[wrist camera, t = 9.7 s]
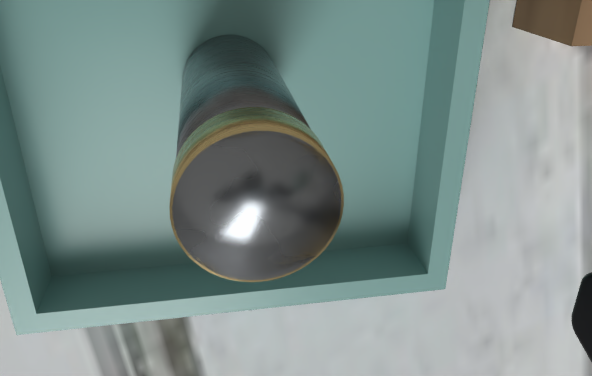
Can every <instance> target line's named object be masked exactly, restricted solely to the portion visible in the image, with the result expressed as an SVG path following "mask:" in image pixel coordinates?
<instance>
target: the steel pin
mask: <svg viewBox="0 0 592 376" xmlns="http://www.w3.org/2000/svg"><path fill="white" fill-rule="evenodd" d="M343 207H344V193H343V187H342V183H341V180H340V177H339V174H338V172H337V170H336V168H335V166H334V164H333V163H332V161H331V159H330V157H329V156H328V154H327V152H326V150H325V148H324V147H323V145H322V143H321V142H320V140H319V139H318V137H317V136H316V134H315V133H314V132H313V131H312V130H311V129H310V127H309V125H308V123H307V121H306V120H305V118H304V116H303V114H302V112H301V111H300V109H299V107H298V105H297V103H296V102H295V100H294V98H293V96H292V94H291V93H290V91H289V89H288V87H287V85H286V84H285V82H284V80H283V78H282V76H281V75H280V73H279V71H278V69H277V67H276V66H275V64H274V62H273V60H272V58H271V57H270V55H269V54H268V53H267V51H266V50H265V49H264V48H263V47H262V46H260V45H259V44H258V43H256V42H255V41H253V40H251V39H249V38H247V37H243V36H239V35H230V34H227V35H220V36H215V37H213V38H210V39H208V40H206V41H204V42H203V43H201V44H200V45H199V46H198V47H197V48H196V49H195V50H194V51H193V52H192V53H191V54H190V56H189V58H188V59H187V61H186V64H185V66H184V70H183V76H182V87H181V100H180V113H179V126H178V139H177V152H176V160H175V164H174V167H173V173H172V183H171V194H170V206H169V210H170V221H171V226H172V229H173V232H174V235H175V238H176V239H177V241H178V243H179V245H180V247H181V248H182V249H183V251H184V252H185V253H186V254H187V256H188V257H189V258H190V259H191V260H192V261H193V262H195V263H196V264H197V265H199V266H200V267H201V268H203V269H205V270H206V271H208V272H210V273H212V274H214V275H217V276H219V277H222V278H225V279H229V280H234V281H240V282H263V281H270V280H274V279H278V278H282V277H285V276H287V275H290V274H292V273H294V272H296V271H298V270H300V269H302V268H304V267H305V266H307V265H308V264H310V263H311V262H312V261H313V260H315V259H316V258H317V257H318V256H319V255H320V254H321V253H322V252H323V251H324V250H325V249H326V248H327V246H328V245H329V244H330V242H331V241H332V239H333V237H334V236H335V234H336V232H337V230H338V227H339V225H340V222H341V218H342V214H343Z"/></svg>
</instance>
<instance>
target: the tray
mask: <svg viewBox="0 0 592 376" xmlns="http://www.w3.org/2000/svg"><path fill="white" fill-rule="evenodd" d="M489 1H490V0H0V280H1V284H2V287H3V290H4V294H5V297H6V301H7V304H8V307H9V311H10V314H11V318H12V321H13V324H14V328H15V331H16V335H21V334H30V333H40V332H49V331H58V330H68V329H77V328H86V327H96V326H105V325H114V324H124V323H133V322H142V321H152V320H161V319H170V318H180V317H189V316H198V315H208V314H217V313H226V312H236V311H245V310H254V309H264V308H273V307H282V306H292V305H301V304H310V303H320V302H329V301H338V300H347V299H357V298H366V297H375V296H385V295H394V294H403V293H413V292H422V291H431V290H441V289H445V287H446V281H447V274H448V268H449V261H450V255H451V248H452V242H453V235H454V229H455V222H456V216H457V209H458V203H459V196H460V190H461V183H462V177H463V170H464V164H465V157H466V151H467V144H468V138H469V131H470V125H471V118H472V112H473V105H474V99H475V92H476V86H477V79H478V73H479V66H480V60H481V53H482V47H483V40H484V34H485V27H486V21H487V14H488V8H489ZM227 34H230V35H239V36H243V37H247V38H249V39H251V40H253V41H255V42H256V43H258V44H259V45H260V46H262V47H263V48H264V49H265V50H266V51H267V53H268V54H269V55H270V57H271V58H272V60H273V62H274V64H275V66H276V67H277V69H278V71H279V73H280V75H281V76H282V78H283V80H284V82H285V84H286V85H287V87H288V89H289V91H290V93H291V94H292V96H293V98H294V100H295V102H296V103H297V105H298V107H299V109H300V111H301V112H302V114H303V116H304V118H305V120H306V121H307V123H308V125H309V127H310V129H311V130H312V131H313V132H314V133H315V134H316V136H317V137H318V139H319V140H320V142H321V143H322V145H323V147H324V148H325V150H326V152H327V154H328V156H329V157H330V159H331V161H332V163H333V164H334V166H335V168H336V170H337V172H338V174H339V177H340V180H341V183H342V187H343V193H344V207H343V214H342V218H341V222H340V225H339V227H338V230H337V232H336V234H335V236H334V237H333V239H332V241H331V242H330V244H329V245H328V246H327V248H326V249H325V250H324V251H323V252H322V253H321V254H320V255H319V256H318V257H317V258H316V259H315V260H313V261H312V262H311V263H310V264H308V265H307V266H305V267H304V268H302V269H300V270H298V271H296V272H294V273H292V274H290V275H287V276H285V277H282V278H278V279H274V280H270V281H263V282H240V281H234V280H229V279H225V278H222V277H219V276H217V275H214V274H212V273H210V272H208V271H206V270H205V269H203V268H201V267H200V266H199V265H197V264H196V263H195V262H193V261H192V260H191V259H190V258H189V257H188V256H187V254H186V253H185V252H184V251H183V249H182V248H181V247H180V245H179V243H178V241H177V239H176V238H175V235H174V232H173V229H172V226H171V221H170V210H169V206H170V194H171V183H172V173H173V167H174V164H175V160H176V152H177V139H178V126H179V113H180V100H181V87H182V76H183V70H184V66H185V64H186V61H187V59H188V58H189V56H190V54H191V53H192V52H193V51H194V50H195V49H196V48H197V47H198V46H199V45H200V44H201V43H203V42H204V41H206V40H208V39H210V38H213V37H215V36H220V35H227Z"/></svg>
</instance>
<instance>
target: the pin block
mask: <svg viewBox="0 0 592 376" xmlns="http://www.w3.org/2000/svg"><path fill="white" fill-rule="evenodd" d="M512 27H514V28H517V29H521V30H524V31H527V32H530V33H533V34H536V35H539V36H542V37H545V38H548V39H551V40H554V41H557V42H560V43H563V44H566V45H570V46H590V45H592V0H517V3H516V9H515V15H514V20H513V26H512Z"/></svg>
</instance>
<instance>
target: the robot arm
mask: <svg viewBox="0 0 592 376" xmlns="http://www.w3.org/2000/svg"><path fill="white" fill-rule="evenodd" d="M572 326H573V329H574V332H575V334H576V335H577V337H578V339H579V341H580V343H581V344H582V346H583V348H584V350H585V351H586V353H587V355H588V357H589V358H590V360H591V362H592V272H591V273H589V274H586V275H585V277H584V278H583V279H582V282H581V285H580V288H579V292H578V295H577V299H576V302H575V305H574V309H573V312H572Z"/></svg>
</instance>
